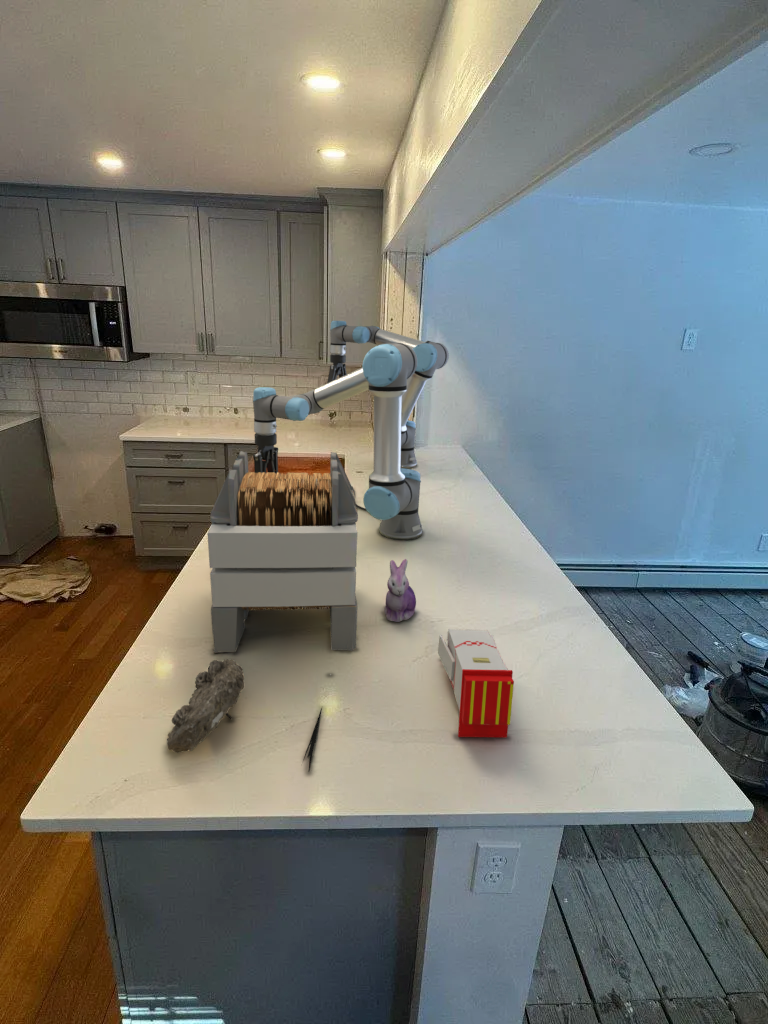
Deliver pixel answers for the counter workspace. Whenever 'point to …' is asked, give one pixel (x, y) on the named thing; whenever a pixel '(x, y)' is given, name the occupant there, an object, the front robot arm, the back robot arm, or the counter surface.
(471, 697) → the toy
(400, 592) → the figurine
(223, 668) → the fossil
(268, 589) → the grey record crate stand
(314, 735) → the feather
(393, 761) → the counter surface
